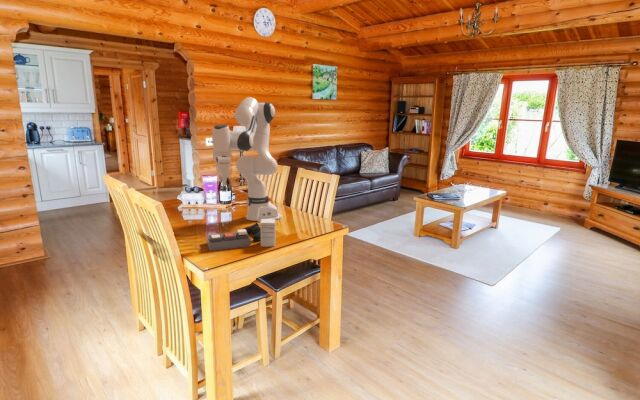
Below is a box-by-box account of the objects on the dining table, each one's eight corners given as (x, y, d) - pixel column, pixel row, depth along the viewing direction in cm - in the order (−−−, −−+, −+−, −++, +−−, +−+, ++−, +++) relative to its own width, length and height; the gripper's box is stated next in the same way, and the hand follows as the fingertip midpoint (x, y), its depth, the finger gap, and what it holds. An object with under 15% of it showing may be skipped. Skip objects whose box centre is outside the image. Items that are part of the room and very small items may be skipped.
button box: (245, 238, 198) (245, 228, 196) (250, 246, 187) (250, 235, 186) (206, 242, 190) (206, 232, 189) (209, 250, 179) (209, 239, 178)
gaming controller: (259, 246, 194) (272, 233, 199) (254, 238, 191) (268, 225, 196) (243, 237, 207) (256, 226, 211) (238, 230, 204) (251, 218, 208)
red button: (232, 236, 188) (232, 233, 187) (233, 238, 184) (233, 235, 184) (224, 236, 186) (224, 234, 186) (225, 239, 183) (225, 236, 182)
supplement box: (261, 241, 194) (261, 218, 191) (275, 241, 194) (275, 218, 191) (260, 246, 186) (260, 222, 184) (275, 246, 187) (275, 222, 184)
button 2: (245, 231, 190) (245, 229, 190) (246, 234, 186) (246, 231, 186) (237, 232, 188) (237, 229, 188) (238, 235, 185) (238, 232, 184)
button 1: (219, 237, 185) (219, 234, 185) (220, 239, 182) (220, 236, 181) (211, 238, 184) (210, 235, 183) (212, 240, 180) (212, 237, 180)
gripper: (213, 155, 197) (214, 180, 200) (218, 159, 179) (219, 187, 182) (225, 154, 200) (225, 180, 203) (231, 159, 181) (232, 187, 185)
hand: (223, 183), depth 192 cm, fingers open, 8 cm apart
